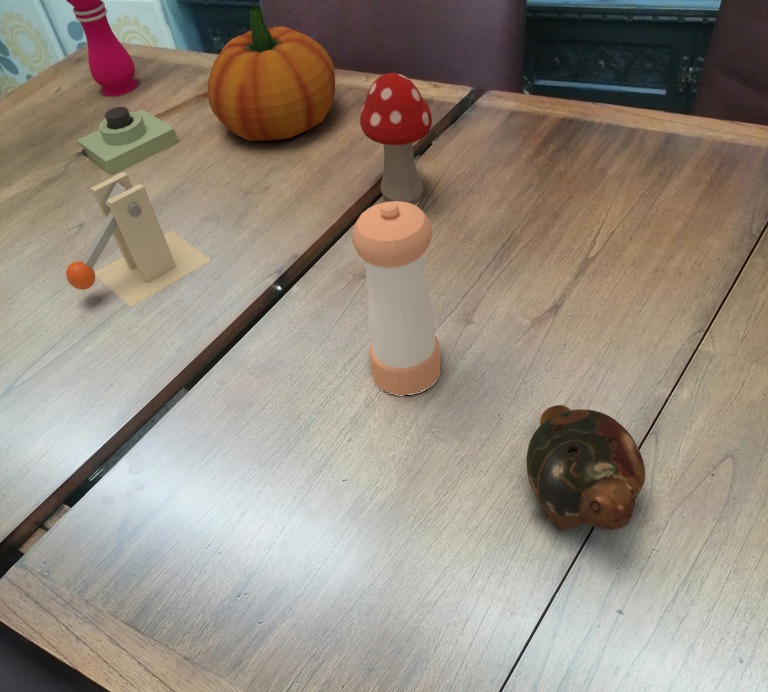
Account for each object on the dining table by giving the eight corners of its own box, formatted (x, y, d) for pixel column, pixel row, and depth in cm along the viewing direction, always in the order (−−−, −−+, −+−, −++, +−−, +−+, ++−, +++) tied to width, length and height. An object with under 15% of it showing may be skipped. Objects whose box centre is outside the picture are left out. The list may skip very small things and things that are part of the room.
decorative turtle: (567, 581, 58) (570, 524, 51) (499, 457, 67) (495, 397, 61) (675, 543, 58) (692, 482, 52) (592, 426, 68) (598, 362, 61)
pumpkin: (262, 168, 101) (233, 54, 89) (197, 126, 110) (163, 18, 98) (365, 115, 107) (351, 2, 94) (294, 80, 116) (274, -28, 104)
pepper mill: (122, 84, 122) (69, -56, 106) (152, 90, 120) (102, -53, 103) (94, 103, 119) (34, -38, 103) (124, 110, 116) (67, -34, 100)
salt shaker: (452, 360, 74) (447, 190, 58) (420, 405, 71) (405, 239, 55) (394, 341, 77) (374, 174, 61) (360, 384, 73) (329, 219, 58)
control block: (112, 175, 104) (100, 149, 101) (82, 154, 109) (70, 128, 106) (179, 142, 108) (169, 115, 105) (147, 122, 113) (138, 97, 110)
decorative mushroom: (448, 203, 91) (444, 80, 79) (389, 226, 89) (376, 104, 77) (414, 170, 96) (405, 50, 84) (358, 190, 95) (341, 71, 83)
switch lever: (91, 298, 83) (68, 286, 80) (79, 287, 85) (56, 275, 82) (147, 203, 81) (124, 188, 78) (134, 194, 82) (111, 178, 80)
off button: (116, 133, 104) (111, 121, 103) (105, 125, 106) (100, 113, 104) (136, 123, 105) (132, 111, 104) (125, 116, 107) (121, 104, 106)
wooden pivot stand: (134, 314, 84) (90, 227, 75) (96, 280, 89) (51, 194, 80) (215, 268, 88) (183, 179, 78) (175, 238, 93) (140, 150, 83)
